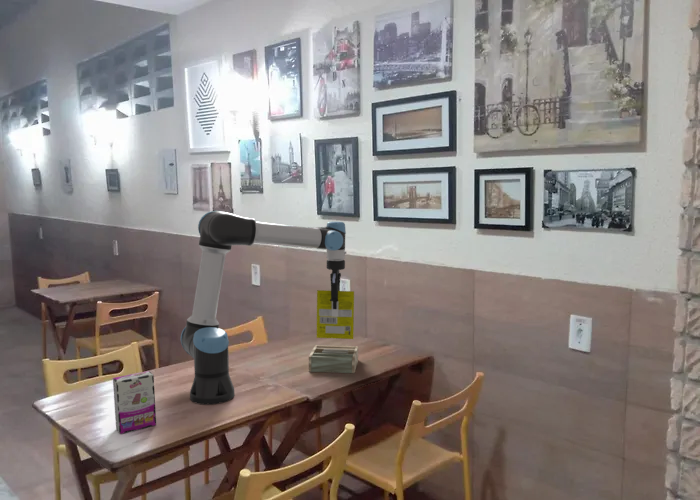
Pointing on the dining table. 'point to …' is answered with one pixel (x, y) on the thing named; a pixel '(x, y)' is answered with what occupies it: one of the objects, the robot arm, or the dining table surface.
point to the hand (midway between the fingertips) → (335, 315)
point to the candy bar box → (134, 401)
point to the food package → (335, 325)
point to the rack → (333, 359)
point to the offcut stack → (335, 351)
